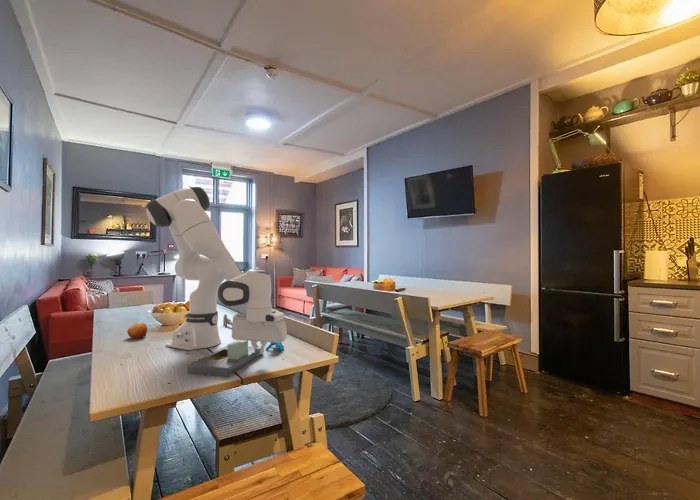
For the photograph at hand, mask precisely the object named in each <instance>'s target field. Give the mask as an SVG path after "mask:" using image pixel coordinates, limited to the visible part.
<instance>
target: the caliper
mask: <svg viewBox="0 0 700 500" xmlns="http://www.w3.org/2000/svg"><path fill="white" fill-rule="evenodd" d="M222 322H223V323H222V324H223V326H226V325H229V326H231V327H233V320H232V319H230V318H229V317H228V315H227V314H224V315H223V319H222Z"/></svg>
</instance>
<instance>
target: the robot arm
mask: <svg viewBox="0 0 700 500" xmlns="http://www.w3.org/2000/svg"><path fill="white" fill-rule="evenodd" d="M210 205H211V203H210V196H209V195H208V193H207V191H205V189H204V188H203V187H202V186H200V185H190V186H188V187H186V188H185V187H184V188H180V189H176V190H174V191H172V192H169V193H167V194H165V195H162V196H160V197H158V198H156V199H155V198H154V199H151V201H149V202H147V203H146V206H145V212H146V217H147V218H148V220H149V221H150V223H152V224H153V225H154V226H155V227H158V228H166V227H168V229H169V232H170V234H171V236H172V239H173V240H174V243H175V246H176V247H177V250H178V254H179V255H178V259H177V260H176V263H175V265H174V271H175V274H176V276H177V277H179V278H180V279H184V280H187V281H199V282H198V286H197V288H196V289H195V290H194V291H192V292H191V293H190V295H189V298H188V299H189V300H188V301H189V311H188V313H186V314H184V315H183V318H186V319H185V322H183V323H182V324H181V325H179V326H178V327H177V328H176V329H174V331H173V332H172V337H171V340H170V341H168V342H166V344H165V347H168V348H175V349H180V350H185V351H193V350H197V349H198V350H199V349H206V348H211V347H215V346H218V345H220V344H221V343H222V340H221V337H220V334H219V328H218V327H219V326H218V320H219V311H218V307H217V303H218V301H219V302H220V303H221V304H222V305H224V306H226V307H237V306H239V305H240V306H241V305H245V313H236V314H235V315H233V317H232V322H233V326H231V327H232V329H231V338H232V340H234V341H236V340H247V341H248V342H251V344H250V345H251V346H253V348H254V353H259V354H262V353H263V354H264V352H265V347H266V345H267V343H268V342H269V343H271V342H277V343H282V344H283V342H285V341H286V340H287V336H288V332H287V331H288V330H287V324H286V322H285V320H284V319H285V317H286V316H285V313H284V312H282V311H279V310H277V309H274V308H272V302H271V296H272V280H271V276H270V274H269V273H268V271H266V270H263V269H255V268H250V269H248V270H247V271H246V272H243V271H242V270H241V269H240V267H239V265H238V264H237V263H236V261H235V259H234V257H232V255H231V253H230V252H229V250H228V249H227V247H226V245H225V243H224V241H223V240H222V238H221V236H220V234H219V232H218V230H217V228H216V227H215V224H214V223H213V221H212V220H211V218H210V216H209V215H208V213H207V212H206V211H207V210H208V209H209V207H210ZM258 342H260V346H258Z"/></svg>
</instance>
